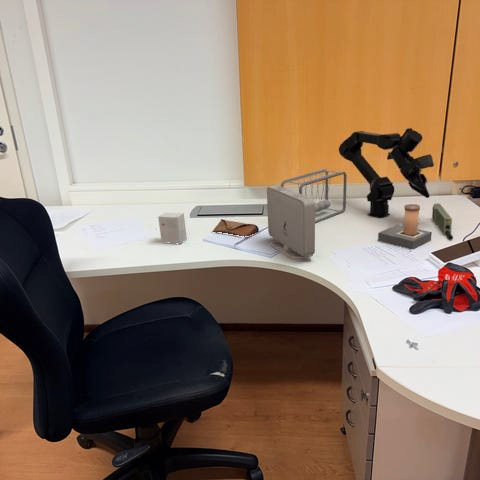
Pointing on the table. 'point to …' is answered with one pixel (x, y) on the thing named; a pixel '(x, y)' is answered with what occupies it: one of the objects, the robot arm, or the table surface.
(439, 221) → the handheld radio
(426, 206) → the table surface
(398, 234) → the block
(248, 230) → the sunglasses case
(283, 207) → the network device
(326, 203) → the newton's cradle
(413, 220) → the plug
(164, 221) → the small box
